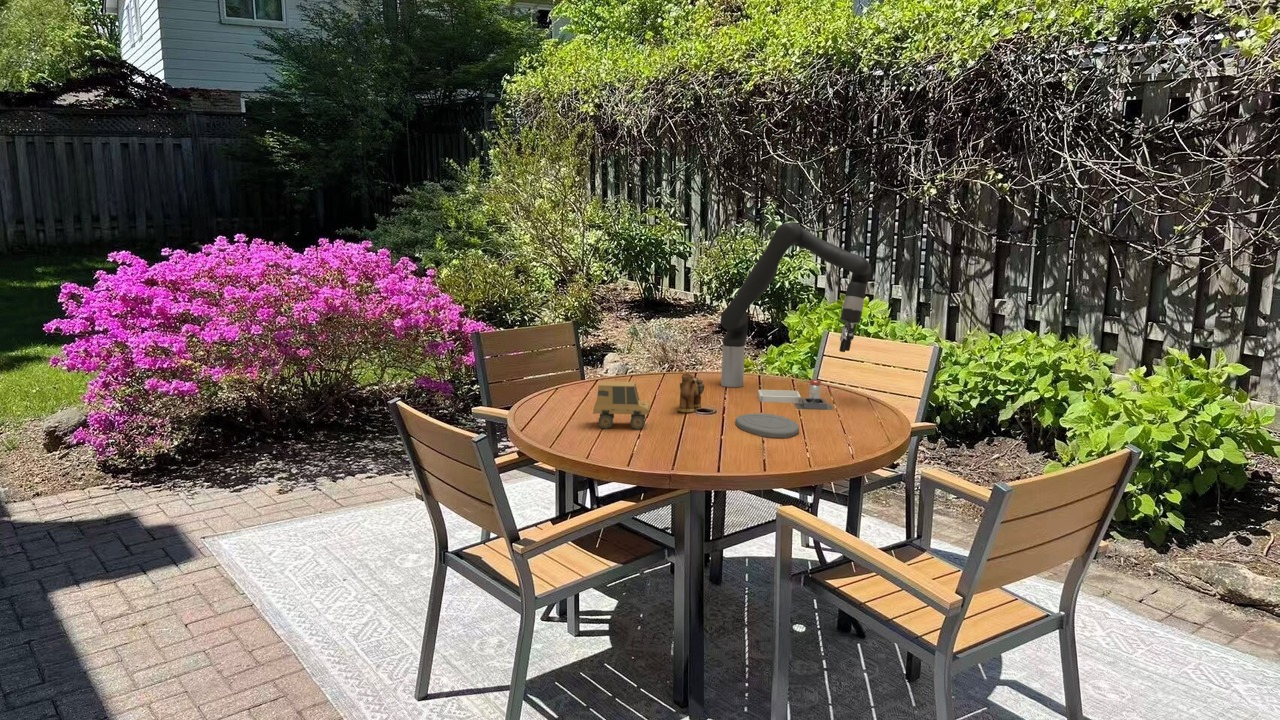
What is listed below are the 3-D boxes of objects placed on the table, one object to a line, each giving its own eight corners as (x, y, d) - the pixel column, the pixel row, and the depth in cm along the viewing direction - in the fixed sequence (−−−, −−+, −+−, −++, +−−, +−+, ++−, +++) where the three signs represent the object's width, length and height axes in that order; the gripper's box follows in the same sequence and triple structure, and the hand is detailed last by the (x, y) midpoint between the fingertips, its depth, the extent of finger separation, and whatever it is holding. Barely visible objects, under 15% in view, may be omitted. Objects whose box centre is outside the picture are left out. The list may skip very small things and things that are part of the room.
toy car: (648, 430, 300) (649, 387, 297) (592, 429, 300) (593, 386, 298) (648, 422, 310) (649, 381, 308) (594, 421, 311) (595, 379, 308)
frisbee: (763, 441, 290) (763, 434, 289) (723, 421, 314) (724, 414, 314) (814, 436, 298) (815, 428, 297) (772, 417, 322) (772, 410, 322)
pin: (809, 407, 332) (810, 381, 331) (807, 405, 336) (809, 379, 334) (820, 407, 332) (821, 382, 330) (818, 405, 336) (819, 379, 334)
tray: (760, 403, 340) (760, 396, 340) (757, 396, 352) (758, 389, 351) (800, 404, 340) (801, 397, 339) (797, 398, 351) (797, 390, 351)
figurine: (671, 413, 323) (672, 373, 321) (684, 404, 337) (685, 366, 335) (696, 416, 320) (697, 375, 317) (707, 406, 334) (709, 368, 331)
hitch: (796, 410, 330) (797, 403, 330) (793, 405, 339) (794, 397, 339) (834, 411, 330) (834, 404, 329) (830, 406, 339) (830, 398, 338)
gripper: (839, 309, 342) (831, 350, 342) (846, 305, 328) (837, 348, 327) (858, 313, 342) (850, 354, 341) (866, 309, 328) (857, 352, 327)
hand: (844, 351), depth 334 cm, fingers open, 8 cm apart
